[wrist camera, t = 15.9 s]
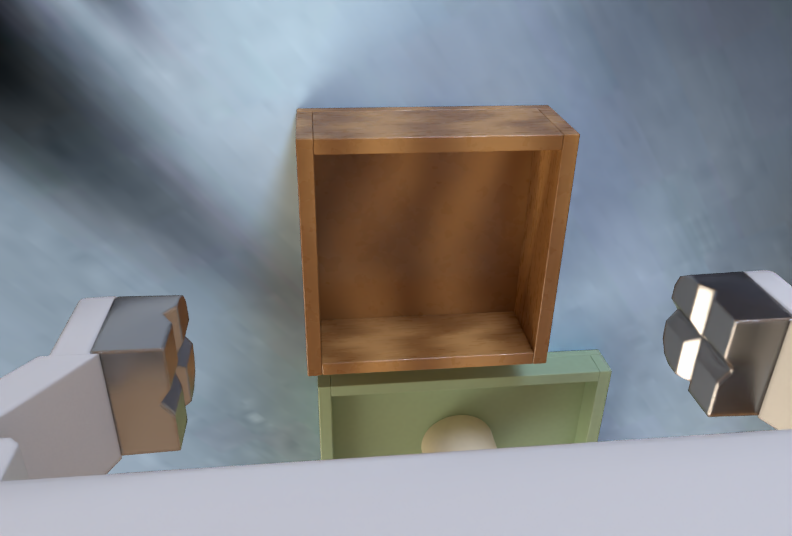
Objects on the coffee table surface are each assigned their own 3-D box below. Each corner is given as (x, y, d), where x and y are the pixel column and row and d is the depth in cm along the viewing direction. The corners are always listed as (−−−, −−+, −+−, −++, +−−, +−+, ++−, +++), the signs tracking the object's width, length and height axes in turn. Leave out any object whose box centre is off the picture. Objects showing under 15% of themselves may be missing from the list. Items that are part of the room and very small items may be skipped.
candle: (495, 412, 48) (527, 502, 41) (489, 466, 50) (519, 561, 43) (422, 416, 47) (442, 509, 40) (419, 471, 50) (438, 568, 43)
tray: (598, 349, 47) (612, 370, 45) (570, 496, 53) (581, 521, 51) (317, 363, 45) (317, 387, 43) (323, 515, 51) (324, 542, 49)
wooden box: (548, 104, 38) (580, 134, 34) (522, 315, 45) (546, 363, 40) (296, 108, 37) (295, 139, 32) (307, 325, 43) (307, 376, 39)
